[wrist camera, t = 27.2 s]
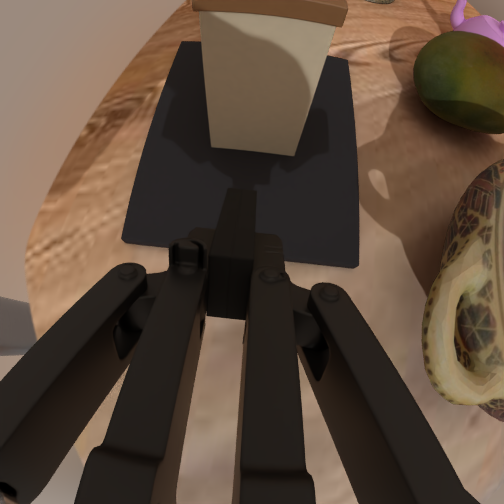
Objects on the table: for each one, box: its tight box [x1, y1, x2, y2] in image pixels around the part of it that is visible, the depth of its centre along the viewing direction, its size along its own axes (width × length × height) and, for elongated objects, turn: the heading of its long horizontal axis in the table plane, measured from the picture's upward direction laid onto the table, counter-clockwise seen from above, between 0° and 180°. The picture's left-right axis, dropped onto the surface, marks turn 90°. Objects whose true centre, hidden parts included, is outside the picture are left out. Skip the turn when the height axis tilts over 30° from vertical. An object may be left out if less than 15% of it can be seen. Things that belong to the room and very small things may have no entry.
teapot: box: [450, 0, 504, 47], centre depth 26 cm, size 12×14×9 cm
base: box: [121, 41, 359, 268], centre depth 17 cm, size 16×20×14 cm
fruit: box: [413, 31, 504, 134], centre depth 22 cm, size 12×13×10 cm
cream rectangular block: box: [192, 0, 348, 156], centre depth 17 cm, size 6×6×13 cm
